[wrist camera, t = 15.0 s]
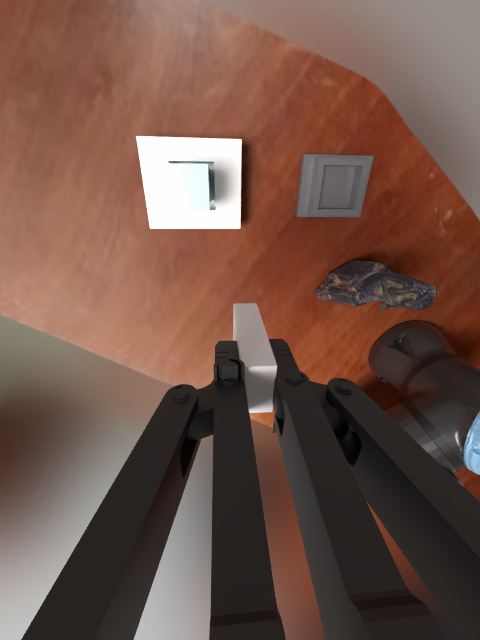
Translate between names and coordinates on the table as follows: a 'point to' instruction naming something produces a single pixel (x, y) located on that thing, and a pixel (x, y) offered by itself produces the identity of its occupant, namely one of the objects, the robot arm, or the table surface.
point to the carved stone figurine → (375, 287)
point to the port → (222, 177)
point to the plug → (188, 186)
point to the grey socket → (332, 185)
